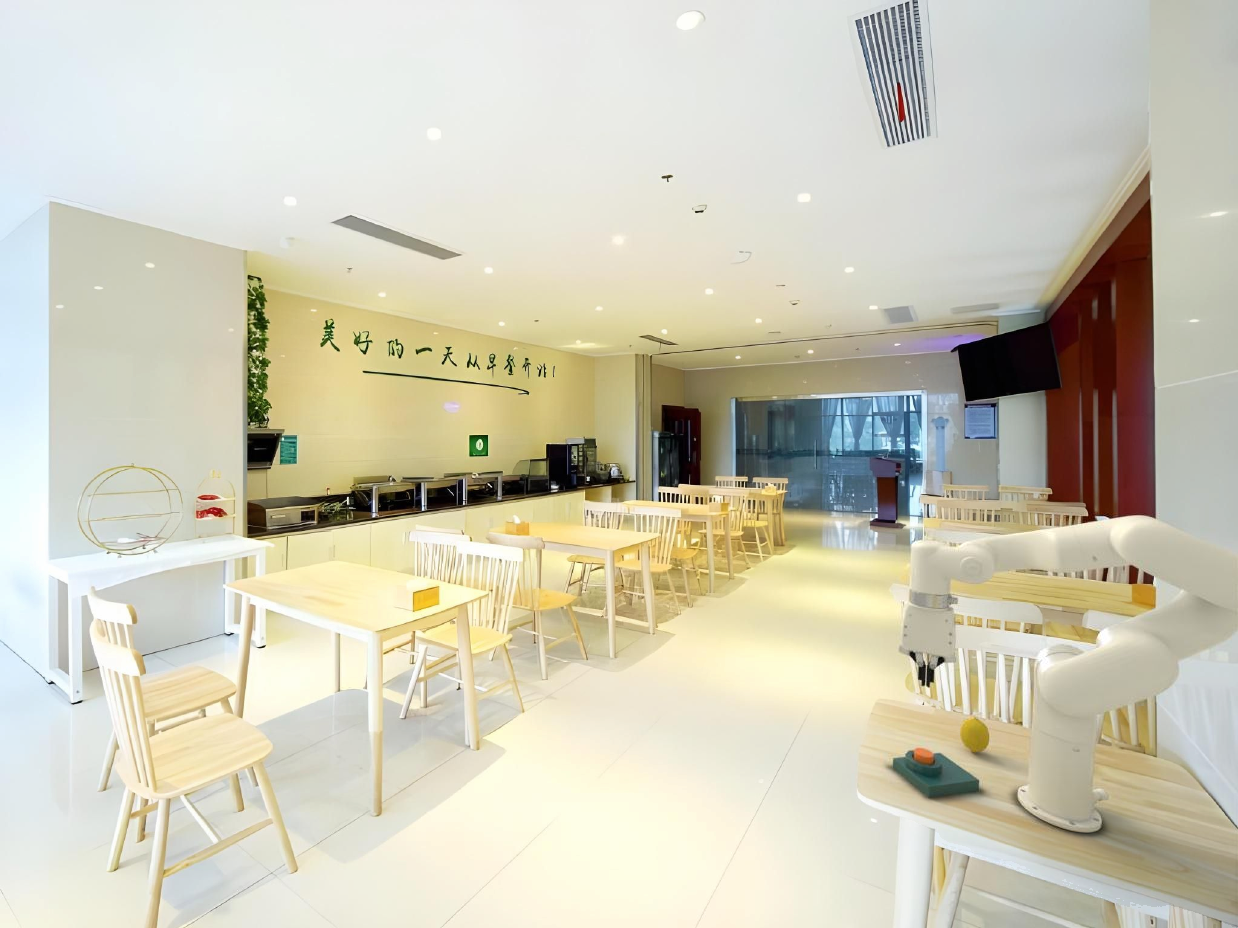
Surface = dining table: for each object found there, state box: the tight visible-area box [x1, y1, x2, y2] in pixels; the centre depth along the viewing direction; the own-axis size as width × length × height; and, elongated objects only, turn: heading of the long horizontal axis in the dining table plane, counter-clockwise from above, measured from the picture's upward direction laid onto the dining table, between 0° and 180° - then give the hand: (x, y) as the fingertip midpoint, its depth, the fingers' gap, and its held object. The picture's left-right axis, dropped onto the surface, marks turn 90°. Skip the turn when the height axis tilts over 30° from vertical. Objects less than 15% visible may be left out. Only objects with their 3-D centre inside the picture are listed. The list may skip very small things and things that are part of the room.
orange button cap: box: [913, 747, 934, 765], centre depth 116 cm, size 4×4×2 cm
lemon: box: [959, 717, 990, 754], centre depth 126 cm, size 6×6×8 cm
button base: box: [892, 749, 980, 798], centre depth 115 cm, size 12×10×4 cm
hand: (925, 684), depth 119 cm, fingers closed
